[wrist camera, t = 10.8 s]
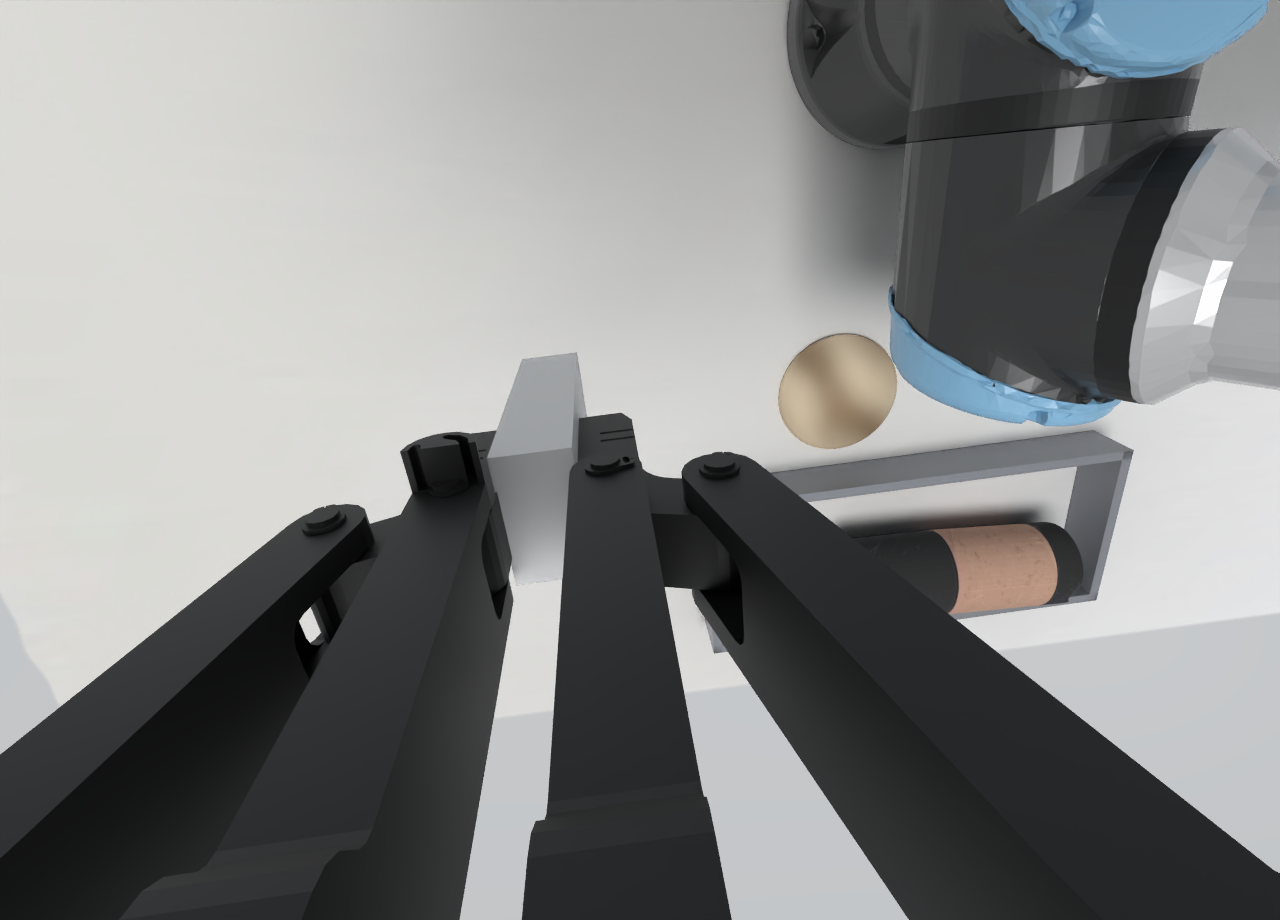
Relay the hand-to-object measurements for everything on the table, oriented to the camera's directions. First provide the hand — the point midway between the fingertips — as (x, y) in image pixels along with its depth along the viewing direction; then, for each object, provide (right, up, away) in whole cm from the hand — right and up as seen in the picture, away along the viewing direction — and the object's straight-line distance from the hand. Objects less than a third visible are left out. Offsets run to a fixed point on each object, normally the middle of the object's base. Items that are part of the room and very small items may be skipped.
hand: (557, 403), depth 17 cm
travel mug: (+20, -12, +39) cm, 46 cm away
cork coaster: (+19, +4, +35) cm, 40 cm away
